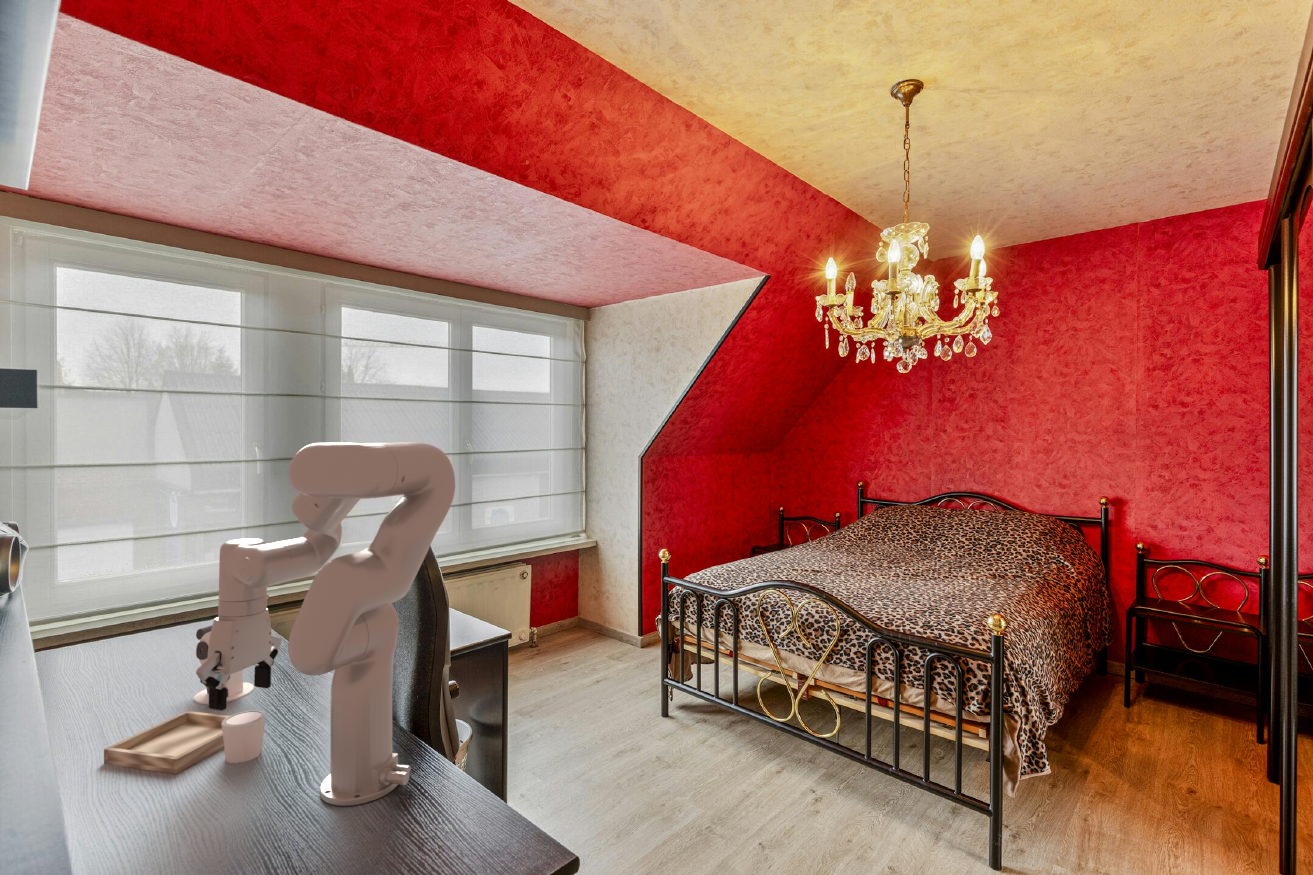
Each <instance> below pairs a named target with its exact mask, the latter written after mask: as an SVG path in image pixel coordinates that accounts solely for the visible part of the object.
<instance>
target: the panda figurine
mask: <svg viewBox="0 0 1313 875" xmlns="http://www.w3.org/2000/svg"><path fill="white" fill-rule="evenodd" d="M212 625H213V624H212ZM212 625H208V626H206V627H205V626H204V627H202V628H198V629H197V631H196V633H195V635H196V639H197V640H199V642H198V643H197V644H196V647H195V648H196V649H195V655H196V659H198V660H199V662H200V664H201V665H202V664H203V663H204V662H206V661H207V657H208V647H209V639H210V634H211V629H212ZM201 665H200V666H201ZM222 670H225V668H223V669H222ZM243 670H244V669H243ZM243 670H241V671H238V672H236V673H234V674H230V676H229V678H228V680H227V681H226V683H225V685H224V687H227V703H229V702H231V701H233V702H234V701H235V700H238V699H242V698H243V697H246V696H249V694H252V692H253V691H254V689H255V686H254V684H252V683H251V682H244V675H243V674H244V671H243ZM210 674H212V672H210ZM221 676H222V674H219V676H218V678H217V680H218V681H219V679H220V677H221ZM193 701H194V702H195V704H198V705H199V704H200V705H209V688H205V689H202V690H201V691H199V692H197V693H196V694H195V695H194V697H193Z"/></svg>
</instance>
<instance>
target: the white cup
mask: <svg viewBox="0 0 1313 875" xmlns="http://www.w3.org/2000/svg"><path fill="white" fill-rule="evenodd" d="M228 716H229V717H227V718H226V719H224V720H223V721H222V723H221V724H222V732H223V741H224V748H223V749H224V758H225V761H226V763H229V762H230V763H229V764H239V762H241V763H245V762H248V761H252V760H254V759H255V758H257V757H259V755H261V754H262V752H263V743H264V734H265V727H266V726H265V724H266V713H265V711H263V710H258V709H257V710H253V709H252V710H245V711H241V712H240V711H239V712H237V713H233V714H232V715H228ZM244 761H245V762H244Z"/></svg>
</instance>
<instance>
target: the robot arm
mask: <svg viewBox="0 0 1313 875" xmlns="http://www.w3.org/2000/svg"><path fill="white" fill-rule="evenodd" d="M288 471H289V472H288V476H289V482H290V484H291V485H292V487H293V488H294V490H296V491H297V494H296V495H295V497H294V498H293V499H292V500H293V501H292V504H291V509H292V513H293V515H294V517H295V519H296V520H297V521H298V522H299V523H300V524H301V525H302V526H304V527H306V528H307V530H306V531H305V532H304V533H303V534H302V535H301V536H300V537H297V538H292V539H284V540H279V541H274V542H269V543H267V541H265V540H264V539H262V538H253V537H248V538H247V537H246V538H237V539H231V540H228V541H225V542H224V543H222V544H221V546H220V549H219V561H218V562H219V565H218V566H219V568H218V569H219V570H218V606H217V607H218V609H217V610H218V612H217V616H216V617H215V618H213V622H212V629H211V634H210V639H209V647H208V657H207V661H206V662H204V663H203V664H202V665H200V666H199V667H198V668H197V669H196V671H195V674H196V676H197V677H198V679H199V682H200V683H201V684H202V685H203V686H204V687H205V689H207V688H209V704H208V708H209V709H210V710H214V711H215V710H217V711H225V710H226V708H227V704H228V702H227V687H224V685H225V683H226V681H227V680H228V678H229V676H230V674H234V673H236V672H238V671H241V670H245V669H247V668H250V667H252V666H254V676H253V678H254V679H253V680H254V682H253V683H254V684H253V685H254V688H255V687H256V688H260V689H261V688H263V689H269V688H271V686H272V684H271V683H272V667H273V666H274V664H275V659H276V657H277V656H278V654H279V648H280V646H281V644H282V638H280V637H277V636H273V635H272V625H271V624H272V623H271V615H270V613H269V608H268V599H269V598H270V597H269V596H270V595H269V594H268V587H272V586H275V585H280V584H283V583H287V582H290V581H294V580H299V579H303V578H307V577H310V576H311V575H313V574H315V577H313V580H312V582H311V584H310V587H309V588H308V591H307V592H306V595H305V597H304V600H303V602H302V603H301V606H300V608H299V611H298V612H297V616H296V617H295V620H294V621H293V622H294V623H293V624H292V628H291V631H290V633H289V636H288V637H289V638H288V644H287V645H288V646H287V652H288V657H289V661H290V663H291V664H292V666H293V668H295V669H296V671H298V672H299V673H300V674H302V675H305V676H322V675H325V674H327V673H331V672H333V671H334V672H333V674H332V675H333V676H332V679H331V684H330V774H328V776H326V777H325V778H324V779H323V780H322V782H321V783H320V787H319V796H320V798H321V800H323V801H324V802H325V803H327V804H330V805H332V806H341V807H346V806H347V807H348V806H357V805H361V804H362V805H363V804H367V803H369V802H372V801H375V800H377V799H380V798H382V797H384V796H386V795H388V794H390V793H391V792H392V791H393V790H395V788H396V787H398V785H401V786H406V785H407V784H408V783H409V780H410V773H411V769H412V766H411V765H409V764H400V762H399V753H398V752H397V753H396V752H393V689H394V688H393V684H394V682H393V681H394V680H393V679H394V678H393V676H394V675H393V674H394V672H393V671H394V670H393V669H394V658H395V653H396V652H395V651H396V646H397V642H398V641H397V640H398V636H399V629H400V620H399V615H398V613H397V610H396V608H395V607H394V605H393V604H394V603H396V602H397V601H400V600H401V599H402V598H404V597H405V596H406V595H407V594H408V593H409V591H410V589H411V588H412V585H413V583H414V581H415V579H416V577H417V574H418V572H419V570H420V568H421V566H422V565H423V562H424V560H425V558H426V556H427V554H428V552H429V549H430V547H431V545H432V542H433V540H434V538H435V536H436V535H437V532H438V531H439V529H440V527H441V525H442V523H443V522H444V521H445V519H446V516H447V514H448V513H449V510H450V509H451V506H452V503H453V501H454V497H455V493H456V492H455V491H456V476H455V471H454V468H453V464H452V463H451V460H450V459H449V457H448V456H447V454H446V453H445V452H444V451H443V450H441V448H439V447H437V446H435V445H432V444H429V443H425V442H411V441H410V442H408V441H407V442H406V441H405V442H402V441H401V442H366V443H363V442H361V443H359V442H346V441H345V442H314V443H310V444H307V445H306V446H304V447H302V448H300V450H298V451H297V453H296V454H295V455H294V456H293V457H292V459H291V462H290V463H289V470H288ZM393 496H394V497H395V496H402V497H401V499H400V500H399V502H398V503H396V504H395V506H393V508H392V509H391V510H390V511H389V512H388V513H387V515H385V517H384V518H383V520H382V522H381V524H380V525H379V528H378V530H377V533H376V534H375V536H374V538H373V540H372V542H371V543H370V544H369V546H368V547H366V548H364V549H363V550H361V551H357V552H353V553H349V554H345V555H341V556H338V557H336V558H333V559H331V558H332V557H333V556H334V554H335V553H336V552H337V550H338V549H339V547H340V544H341V541H342V535H343V531H342V530H343V529H342V528H343V527H342V523H341V522H343V520H344V519H345V518H346V516H348V514H349V513H350V512H351V511H352V510H353V508H354V507H355V506H356V505H357V504H358V503H359V501H361V499H362V500H363V499H364V500H366V499H377V498H387V497H393ZM330 559H331V560H330ZM316 572H317V573H316ZM223 668H225V670H222V669H223ZM210 672H212V674H210ZM219 674H222V676H221V677H220V679H219V681H218V680H217V678H218V676H219Z"/></svg>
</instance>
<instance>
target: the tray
mask: <svg viewBox="0 0 1313 875" xmlns="http://www.w3.org/2000/svg"><path fill="white" fill-rule="evenodd" d="M229 716H230V715H225V714H215V713H208V712H200V711H189V710H187V711H184V712H181V713H180V714H178V715H177V714H176V715H175V716H173V717H171V718H169V719H166V720H164V721H162V722H160V723H158V724H156V725H154V726H151V727H150V728H147V729H145V730H143V731H141V732H138V733H137V734H134V735H131V736H130V737H128V738H126V739H124V740H121V741H119V742H116V743H115V744H112V745H111V746H108V747H106V748H104V749H103V764H104V765H105V764H106V765H112V766H116V767H117V766H118V767H124V768H125V767H126V768H132V769H139V770H146V771H153V772H158V773H159V772H160V773H166V774H173V775H178V774H179V773H181V772H183V771H185V770H186V769H188V768H190V767H192V766H193V765H192V764H194V763H195V764H197V763H199V762H201V761H202V760H205V759H206V758H208V757H209V756H212V755H213V754H215V753H217V752H219V751H221V750H222V749H224V741H223V732H222V724H221V723H222V721H223V720H224V719H226V718H227V717H229ZM198 761H199V762H198ZM195 764H194V765H195ZM191 765H192V766H191ZM189 766H190V767H189ZM187 767H188V768H187ZM184 769H185V770H184ZM182 770H183V771H182Z"/></svg>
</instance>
